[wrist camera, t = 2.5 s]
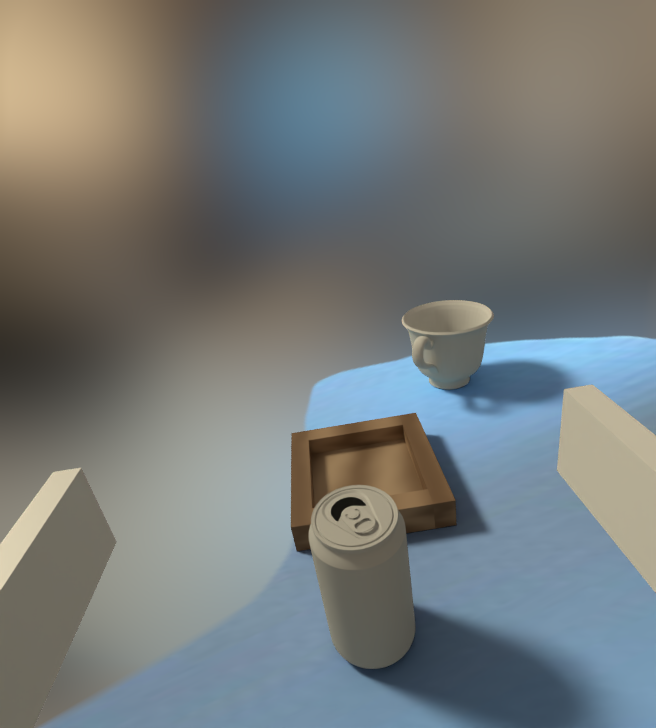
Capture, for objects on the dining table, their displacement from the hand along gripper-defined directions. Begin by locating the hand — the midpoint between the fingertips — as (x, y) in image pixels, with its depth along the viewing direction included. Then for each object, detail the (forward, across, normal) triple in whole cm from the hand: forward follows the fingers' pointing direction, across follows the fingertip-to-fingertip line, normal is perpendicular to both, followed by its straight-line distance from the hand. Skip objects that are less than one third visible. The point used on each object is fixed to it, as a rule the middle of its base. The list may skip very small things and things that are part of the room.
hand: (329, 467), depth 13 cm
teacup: (+47, +16, -26) cm, 56 cm away
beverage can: (+12, 0, -26) cm, 29 cm away
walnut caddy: (+29, +2, -26) cm, 38 cm away
